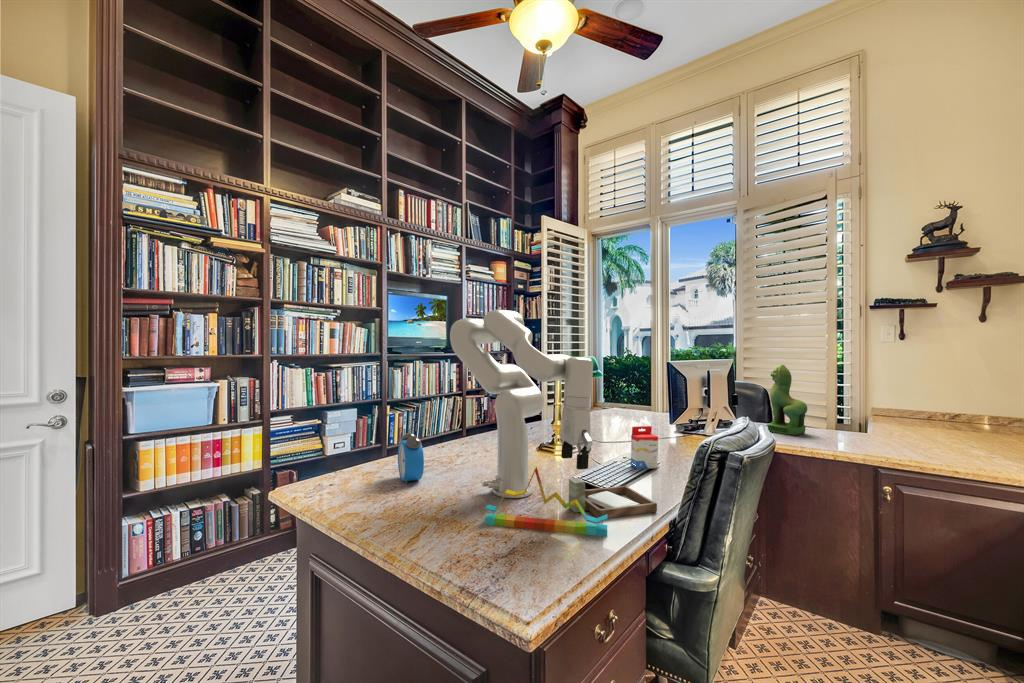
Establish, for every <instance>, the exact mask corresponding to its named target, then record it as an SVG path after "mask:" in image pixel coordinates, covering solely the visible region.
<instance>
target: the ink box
mask: <svg viewBox="0 0 1024 683" xmlns="http://www.w3.org/2000/svg"><path fill="white" fill-rule="evenodd" d="M652 430H653V428H652V426H651V425H646V426H645V425H644V426H643V425H640V426H639V425H638V426H632V427H631V435H630V438H631V439H630V466H631V467H634V469H637V470H640V469H641V470H642V469H643V470H644V469H658V463H659V462H658V458H659V457H658V456H659V453H658V452H659V451H658V450H659V446H658V445H659V436H658V435H655V434H653V433H652ZM632 463H633V464H635V465H636V466H635V465H633V464H632Z"/></svg>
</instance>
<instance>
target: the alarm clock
mask: <svg viewBox="0 0 1024 683" xmlns="http://www.w3.org/2000/svg"><path fill="white" fill-rule="evenodd" d="M424 462H425V456H424V449H423V445H422V441H421V439H420V437H417V435H415V433H414V432H413V433H412V432H407V433H405V434H403V435H402V437H401V440H400V441H399V443H398V449H397V466H398V474H399V477H400V480H401V481H402V482H404V483H405V485H407V484H408V482H412V481H419V480H421V479H422V478H423V475H424V472H425V471H424V470H425V468H424V467H425V463H424Z"/></svg>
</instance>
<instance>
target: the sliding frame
mask: <svg viewBox="0 0 1024 683" xmlns="http://www.w3.org/2000/svg"><path fill="white" fill-rule="evenodd" d="M604 491H609V492H611V493H614V494H616V495H619V496H621V495H626V496H628V497H629V498H631V499H632V500H633V501H634V502H636V503H639V504H640V505H632V506H623V507H615V508H600V507H598V505H597V504H595V503H592V502H590V501H589V500H588V496H589V495H593V494H596V493H600V492H604ZM575 499H577V500H578V502H579V504H580V505H581V507H582V509H583V510H584V512H586V511H588V512H590V513H591V514H592V515H594V516H595V518H599V517H601V516H603V515H606V514H607V519H610V518H618V517H626V516H632V515H633V516H634V515H642V514H651V513H657V512H658V503H657V502H656V501H655V502H654V501H653V500H652V499H649V498H647V497H646V496H644V495H643V494H641V493H639V492H637V491H636V490H634V489H632V488H631V487H629V486H627V485H618V486H611V487H610V486H609V487H600V488H591V489H586V481H584V480H583V479H581V478H580V477H572V478H569V479H568V503H569V502H570V503H571V501H573V500H575ZM568 508H569V509H570V510H571V511H573V513H581V512H580V510H579V509H578V507H577V505H576V504H574V505H572V506H570V507H568Z"/></svg>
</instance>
